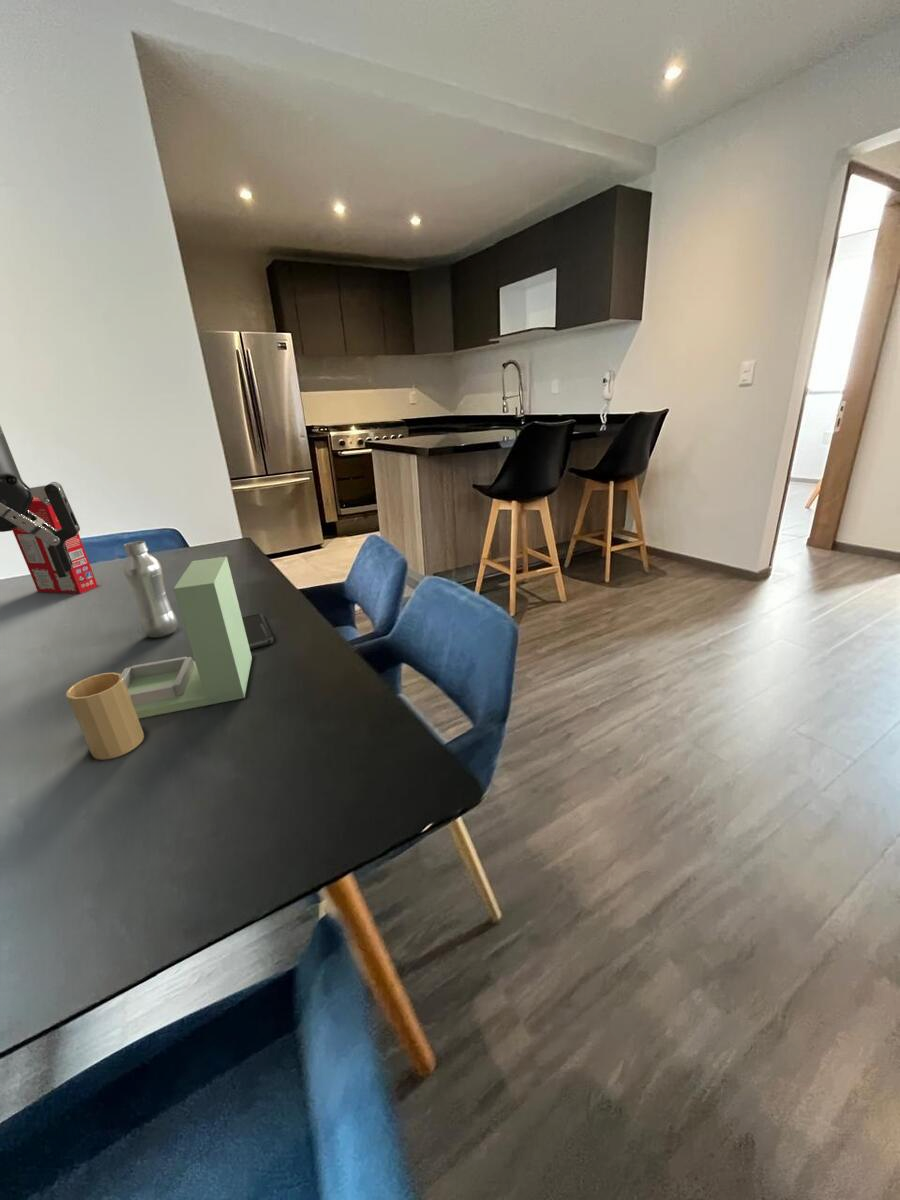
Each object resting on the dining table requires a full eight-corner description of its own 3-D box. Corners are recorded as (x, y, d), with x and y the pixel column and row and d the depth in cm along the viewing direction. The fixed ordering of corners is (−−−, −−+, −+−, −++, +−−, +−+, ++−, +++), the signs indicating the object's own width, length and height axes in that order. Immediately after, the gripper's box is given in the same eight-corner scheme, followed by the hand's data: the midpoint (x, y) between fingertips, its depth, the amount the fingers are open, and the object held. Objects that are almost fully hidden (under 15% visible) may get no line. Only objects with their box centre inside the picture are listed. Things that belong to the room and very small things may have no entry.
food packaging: (97, 586, 136) (65, 496, 127) (80, 593, 132) (45, 500, 122) (56, 585, 140) (21, 497, 130) (38, 592, 135) (0, 501, 125)
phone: (231, 649, 93) (223, 621, 105) (232, 654, 94) (224, 626, 106) (273, 638, 96) (261, 612, 109) (275, 643, 97) (262, 617, 109)
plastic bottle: (139, 637, 104) (108, 546, 96) (171, 624, 109) (144, 537, 101) (154, 644, 100) (123, 550, 92) (186, 631, 105) (159, 540, 97)
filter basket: (84, 764, 67) (57, 703, 63) (101, 735, 72) (77, 677, 69) (136, 753, 68) (113, 692, 64) (149, 726, 74) (128, 668, 70)
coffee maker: (102, 726, 75) (53, 605, 67) (130, 679, 87) (92, 574, 79) (244, 698, 79) (214, 582, 72) (252, 658, 92) (226, 556, 84)
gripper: (47, 426, 55) (96, 563, 61) (-127, 438, 49) (-53, 589, 55) (33, 427, 49) (89, 579, 55) (-168, 441, 43) (-79, 610, 49)
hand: (18, 584), depth 55 cm, fingers open, 8 cm apart
